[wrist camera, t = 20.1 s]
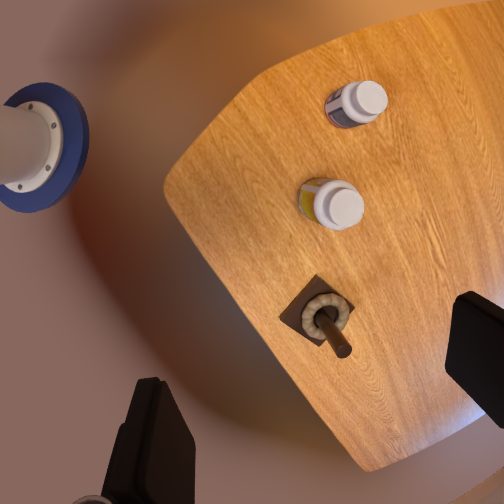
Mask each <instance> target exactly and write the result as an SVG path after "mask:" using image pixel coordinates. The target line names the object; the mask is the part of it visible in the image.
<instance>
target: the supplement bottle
mask: <svg viewBox="0 0 504 504" xmlns="http://www.w3.org/2000/svg"><path fill="white" fill-rule="evenodd" d="M298 206H299V208H300V210H301V212H302V213H303V214H304V215H305V216H306V217H308V218H309V219H311V220H313V221H315V222H317V223H319V224H321V225H323V226H324V227H326V228H328V229H331V230H344V229H347V228H349V227H351V226H354V225H355V224H357V223H358V222H359V221H360V220H361V218H362V216H363V214H364V201H363V199H362V197H361V195H360V194H359V193H358V191H357V189H356V188H355V187H354V186H353V185H352V184H350V183H349V182H347V181H344V180H338V179H328V178H313V179H310V180H308V181H306V182H305V183H304V184H303V185H302V186H301V188H300V190H299V193H298Z"/></svg>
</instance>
